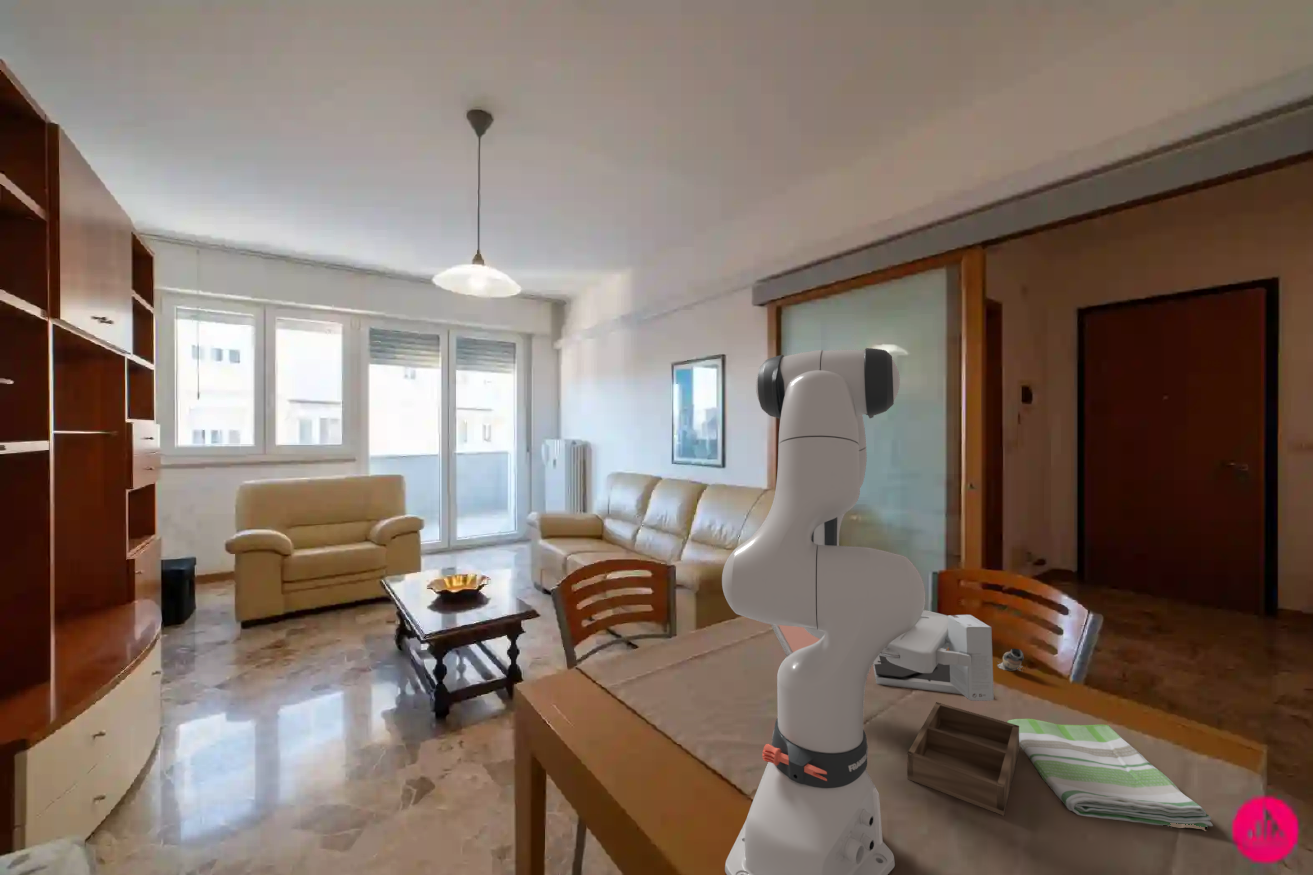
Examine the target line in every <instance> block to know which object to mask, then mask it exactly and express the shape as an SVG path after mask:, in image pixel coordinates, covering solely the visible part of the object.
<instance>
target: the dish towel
mask: <svg viewBox="0 0 1313 875" xmlns="http://www.w3.org/2000/svg"><path fill="white" fill-rule="evenodd" d="M1006 722H1008V723H1011V724H1015V725H1018V726H1019V747H1020V748H1021V749H1022V751H1023V752H1024V753H1025V754H1026V756H1027V758H1028V759H1029V760H1030V761H1031V763H1032V765H1033V766H1034V768H1035V769H1036V771H1037V773H1039V775H1040V776H1041V778H1042V780H1043V781H1044V782H1045V783H1046V784H1047V785H1048V787H1049V788H1050V789H1051V790H1052V792H1054V794H1055V795H1056V796H1057V798H1058V799H1059V800H1060V801H1061V802H1063V804H1064V805H1065V807H1066V808H1067V809H1068V810H1069V811H1071V812H1073V813H1075V815H1078V816H1083V817H1090V818H1095V819H1096V818H1099V819H1102V820H1114V821H1124V822H1131V823H1141V824H1147V825H1152V826H1153V825H1155V826H1163V825H1169V826H1170V825H1171V824H1170V823H1176V824H1177V823H1178V824H1185V825H1186V824H1188V825H1190V824H1191V825H1192V824H1194V825H1196V826H1199V827H1200V826H1201V827H1207V828H1208V827H1213V826H1214V825H1213V823H1212V821H1211V820H1212V816H1210V815H1209V814H1207V812H1206V810H1205V809H1204V808H1203V807H1202V806H1201V805H1199V804H1198V803H1197V802H1195V801H1194V800H1193V799H1191V798H1190V797H1188V796H1187V795H1185V794H1184V793H1183V792H1182V791H1181V790H1180V789H1179V788H1178V786H1177V785H1176V783H1175V782H1173V781H1172V780H1171V779H1170V778H1169V777H1168V776H1167V775H1166V774H1164V773H1163V772H1162V771H1161V770H1160V769H1158V768H1157V767H1155V766H1154V765H1153V764H1151V763H1150V762H1149V761H1148V760H1147V759H1146V758H1145V757H1144V756H1143V754H1141V753H1140V752H1139V751H1138V749H1136V748H1135V747H1133V746H1132V745H1131V744H1130V743H1129V742H1127V741H1126V739H1124V738H1123V737H1122V736H1121V735H1119V733H1118V732H1116V731H1115V730H1114V729H1113V728H1112V727H1111V726H1110V725H1108V724H1083V725H1082V724H1057V723H1053V722H1049V721H1045V720H1041V719H1040V720H1039V719H1034V718H1015V719H1014V718H1013V719H1009V720H1007V721H1006ZM1169 826H1168V827H1169Z"/></svg>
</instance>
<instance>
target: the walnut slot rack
mask: <svg viewBox="0 0 1313 875" xmlns="http://www.w3.org/2000/svg"><path fill="white" fill-rule="evenodd" d="M1019 752H1020V744H1019V726H1018V725H1015V724H1011V723H1008V722H1007V721H1004V720H1000V719H996V718H993V717H990V716H986V715H983V714H980V713H976V712H972V711H969V710H967V709H966V710H965V709H962V708H958V707H955V706H951V705H949V704H945V703H941V702H938V701H936V702H935V703H934V705H933V707H932V709H931V710H930V713H929V714H928V716H927V718H926V720H925V721H924V722H923V725H922V727H921V729H920V730H919V732H918V733H917V735H916V737H915V739H914V740H913V742H912V744H911V746H910V748H909V749H908V751H907V753H906V756H907V757H906V759H907V760H906V764H907V770H906V771H907V774H906V776H907V777H906V778H907V780H909V781H912V782H914V783H918V784H919V785H922V786H925V787H928V788H930V789H933V790H935V791H938V792H940V793H943V794H946V795H948V796H950V797H953V798H956V799H959V800H962V801H964V802H967V803H970V804H972V805H975V806H977V807H980V808H982V809H985V810H988V811H991V812H992V813H995V814H997V815H1000V816H1005V813H1006V807H1007V804H1008V800H1009V795H1010V791H1011V786H1012V782H1013V778H1014V774H1015V769H1016V766H1017V761H1018V757H1019V754H1020V753H1019Z"/></svg>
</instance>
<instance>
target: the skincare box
mask: <svg viewBox="0 0 1313 875" xmlns="http://www.w3.org/2000/svg"><path fill="white" fill-rule="evenodd" d="M947 616H948V636H949V647H948V651H954V652H959V651H964V652H968V653H970V654H972V663H971V665H970V667H967V666H962V665H950V683H951V684H952V685H953V686H954V687H955V688H956V689H957V690H959V691H960V692H961V693H962V694H961V695H963V696H964V697H965V698H966V699H968V701H973V702H990V701H992V702H993V701H994V700H995V698H994V697H995V693H994V669H993V668H994V666H993V640H992V639H993V638H992V636H993V635H992V633H993V632H992V626H990V625H988V624H986V623H985V622H983V621H982V620H980V619H978V618H976V617H975V616H973V615H972V614H950V615H947Z"/></svg>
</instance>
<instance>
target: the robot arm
mask: <svg viewBox="0 0 1313 875" xmlns="http://www.w3.org/2000/svg"><path fill="white" fill-rule="evenodd" d="M900 378H901V377H900V372H899V369H898V366H897V365H896V362H895V361H894V360H893V356H892V355H891V353H889V352H888V351H887V350H885V349H879V348H872V347H866V348H865V349H864V350H863V349H832V350H824V349H818V350H812V351H811V350H810V351H804V352H798V353H795V354H789V355H785V356H784V354H781V355H776V356H772V357H770V358H768V359H766V360H764V362H763V363H762V365H760V367H759V368H758V372H757V377H756V380H755V381H756V382H755V393H756V396H757V400H758V402H759V406H760V408H761V410H763V412H764V413H766V414H767V415H768V416H770V417H774V418H776V419H779V431H778V444H777V445H778V446H777V447H778V449H777V450H778V454H777V470H776V472H777V474H776V483H775V491H774V492H775V493H774V496H773V501H772V504H771V507H770V509H769V512H768V513H767V516H766V517H765V519H764V521H763V522H762V524H761V525H760V527H759V528H757V530H756V531H755V532H754V533H753V534H752V535H751V536H750V537H749V538H748V539H746V540H745V541H744V542H742V543H741V544H740V545H738V546H736V547H735V549H733V551H732V552H731V553H730V554H729V556H728V557H727V559H726V561H725V563H724V565H723V569H722V575H721V586H722V587H721V588H722V591H723V595H724V597H725V599H726V602H727V604H728V606H729V607H730V609H731V610H732V611H733V612H734V613H735V614H736V615H739V616H741V617H745V618H747V619H750V620H753V621H757V622H760V623H763V624H768V625H771V624H773V625H774V624H775V625H785V626H794V627H804V628H805V630H806V631H807V632H808V633H810V634H811V635H813V636H815V637H817V638H819V639H820V640H819V641H817V642H816V643H814V644H812V645H810V646H807V647H804V648H801V649H799V650H797V651H795V652H793V653H792V654H789V655H787V656H788V657H787V656H785V659H784V660H782V662H781V664H780V666H779V667H778V671H777V675H776V683H777V686H776V689H777V693H776V694H777V698H776V699H777V718H776V720H775V723H774V729H773V731H772V735H771V744H769V743H766V744H765V745H764V747H763V750H762V755H761V756H762V760H763V761H764V762H766V763H767V765H766V767H765V769H764V772H763V774H762V777H761V779H760V781H759V784H758V787H757V790H756V792H755V793H754V794H755V795H754V797H753V800H752V802H751V805H750V807H749V810H748V814H747V817H746V819H745V822H744V824H743V825H742V827H741V829H740V831H739V833H738V836H737V837H736V839H735V842H734V844H733V845H732V847H731V850H730V852H729V854H728V855H727V858H726V860H725V865H724V872H725V874H726V875H888V874H890V873H891V871H892V870H893V869H894V868H895V866H896V863H895V856H894V853H893V851H892V850H891V849H890V848H889V847H888V846H887V845H886V843H885V842H884V841H883V832H882V831H883V828H882V816H881V804H880V802H881V801H880V794H879V791H878V790H877V787H876V785H875V784H874V782H873V781H872V778H871V777H870V775H869V773H868V770H867V766H868V755H869V747H868V745H869V744H868V742H867V739H868V738H867V734H866V732H865V730H864V709H865V707H864V706H865V693H866V692H865V691H866V684H867V678H868V676H869V673H870V670H871V668H872V667H873V663H874V661H875V659H876V658H877V656H878V655H880V656H884V657H886V659H887V660H888V661H889V662H891V663H893V664H895V665H898V666H901V667H904V668H907V669H910V670H913V671H916V672H920V673H932V672H933V670H934V669H935V667H936V666H937V664H938V663H939V664H943V665H962V666H967V667H970V665H971V663H972V654H970V653H968V652H964V651H959V652H954V651H949V636H948V615H947V614H943V613H939V612H934V611H931V610H926V609H925V605H926V589H925V585H924V582H923V579H922V578H923V577H922V576H921V574H920V572H919V571H918V569H917V567H916V566H915V565H914V564H913V563H912V561H910V559H909V558H908V557H907V556H905V555H902V554H898V553H894V552H891V551H887V550H881V549H878V548H874V547H873V548H872V547H869V546H867V547H866V546H849V545H848V546H847V545H840V530H841V525H842V522H843V519H844V516H845V514H846V513H847V512H849V511H850V510H851V509H852V508H854V507H855V505H856V504H857V502H858V501H859V497H860V493H861V487H862V486H863V484H864V480H865V476H866V470H867V458H868V457H867V456H868V455H867V453H868V452H867V438H866V429H865V428H866V427H865V423H864V422H865V421H864V416H863V415H866V416H868V418H869V419H873V418H874V416H877V415H880V414H883V413H885V412H888V411H889V409H890V408H892V407H893V405H895V404H894V402H895V400H896V398H897V396H898V393H899V390H900V385H901V382H900V381H901V379H900Z"/></svg>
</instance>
